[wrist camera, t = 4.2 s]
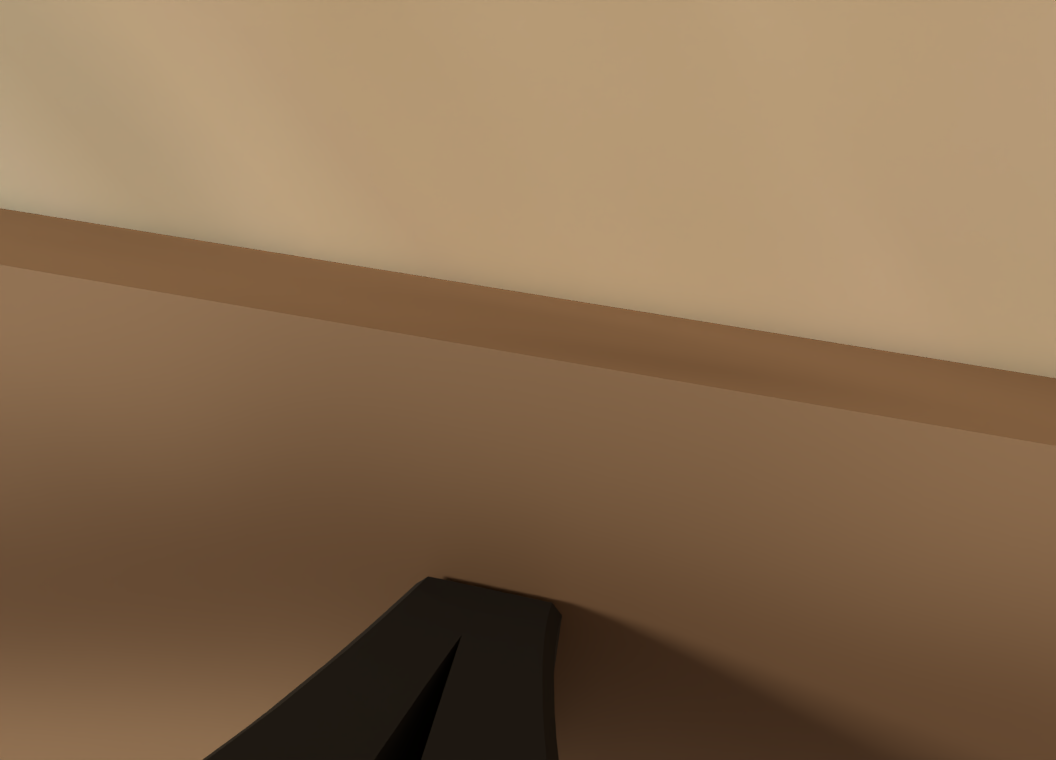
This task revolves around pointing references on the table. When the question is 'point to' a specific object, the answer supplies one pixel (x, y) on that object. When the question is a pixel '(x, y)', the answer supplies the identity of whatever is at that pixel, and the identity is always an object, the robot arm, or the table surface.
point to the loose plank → (502, 509)
